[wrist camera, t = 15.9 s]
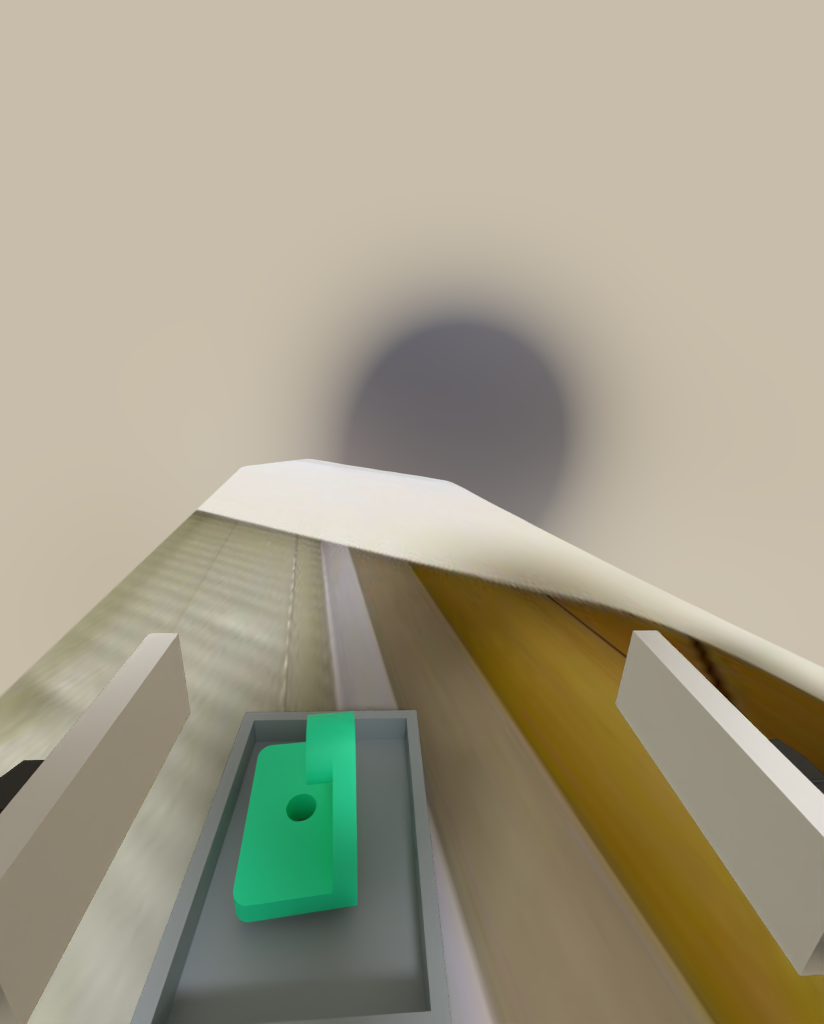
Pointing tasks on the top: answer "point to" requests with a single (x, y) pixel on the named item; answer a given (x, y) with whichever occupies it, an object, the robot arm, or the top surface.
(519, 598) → the top surface
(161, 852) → the top surface
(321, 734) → the camera mount
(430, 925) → the tray
